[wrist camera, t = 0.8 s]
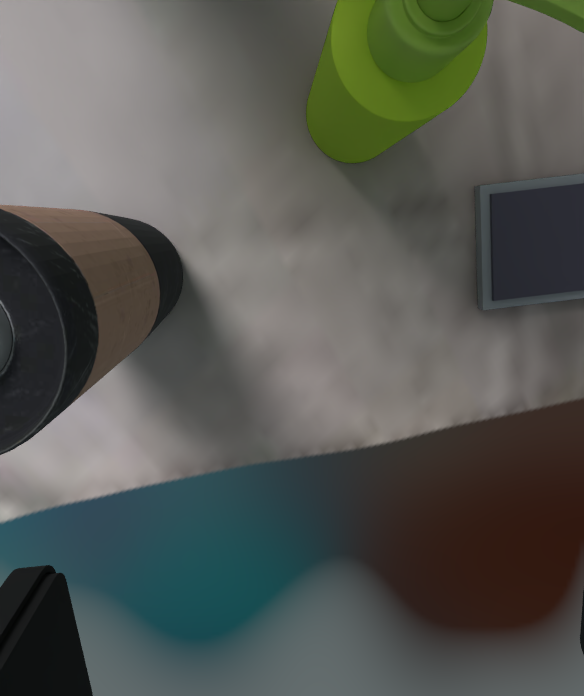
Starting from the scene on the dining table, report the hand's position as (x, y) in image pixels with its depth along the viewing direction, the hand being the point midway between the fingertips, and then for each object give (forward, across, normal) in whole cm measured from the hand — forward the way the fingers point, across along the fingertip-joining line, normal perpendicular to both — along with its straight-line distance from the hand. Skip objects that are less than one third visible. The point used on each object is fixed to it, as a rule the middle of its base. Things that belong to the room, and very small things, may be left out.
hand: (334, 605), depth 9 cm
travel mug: (+26, +10, -4) cm, 29 cm away
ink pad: (+26, -18, -4) cm, 32 cm away
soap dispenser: (+27, -6, -12) cm, 30 cm away
